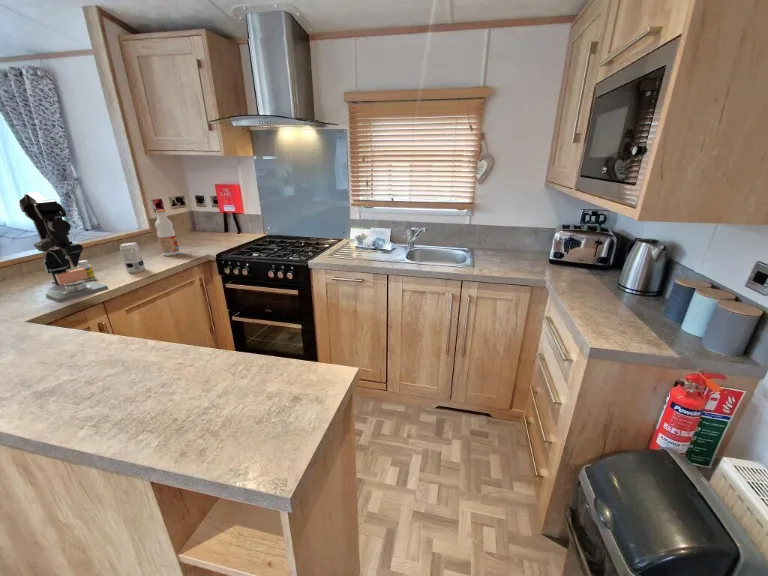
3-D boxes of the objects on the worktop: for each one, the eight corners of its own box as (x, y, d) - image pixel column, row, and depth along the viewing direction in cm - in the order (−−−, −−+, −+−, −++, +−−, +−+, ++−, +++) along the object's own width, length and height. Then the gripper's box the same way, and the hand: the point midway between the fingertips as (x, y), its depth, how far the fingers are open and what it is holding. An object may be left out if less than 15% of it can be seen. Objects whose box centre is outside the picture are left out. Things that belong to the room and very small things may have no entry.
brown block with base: (58, 291, 151) (51, 273, 148) (85, 284, 159) (79, 267, 156) (67, 294, 147) (60, 276, 144) (94, 287, 155) (88, 269, 152)
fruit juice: (161, 254, 215) (149, 210, 204) (177, 251, 221) (166, 208, 211) (165, 257, 208) (153, 211, 198) (181, 254, 214) (170, 209, 204)
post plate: (46, 296, 150) (42, 288, 148) (94, 284, 164) (91, 276, 163) (59, 302, 143) (56, 293, 142) (108, 288, 158) (105, 280, 156)
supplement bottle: (87, 281, 168) (80, 262, 164) (79, 281, 169) (72, 262, 165) (98, 278, 173) (91, 259, 169) (89, 277, 174) (83, 259, 170)
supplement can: (123, 272, 181) (115, 245, 176) (139, 267, 188) (131, 241, 183) (133, 273, 178) (125, 246, 173) (148, 269, 185) (141, 242, 180)
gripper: (20, 233, 140) (35, 268, 146) (45, 236, 133) (59, 273, 139) (53, 227, 150) (66, 261, 155) (77, 230, 143) (90, 265, 149)
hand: (69, 265), depth 149 cm, fingers open, 9 cm apart
